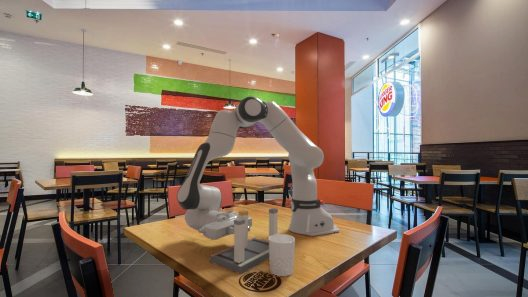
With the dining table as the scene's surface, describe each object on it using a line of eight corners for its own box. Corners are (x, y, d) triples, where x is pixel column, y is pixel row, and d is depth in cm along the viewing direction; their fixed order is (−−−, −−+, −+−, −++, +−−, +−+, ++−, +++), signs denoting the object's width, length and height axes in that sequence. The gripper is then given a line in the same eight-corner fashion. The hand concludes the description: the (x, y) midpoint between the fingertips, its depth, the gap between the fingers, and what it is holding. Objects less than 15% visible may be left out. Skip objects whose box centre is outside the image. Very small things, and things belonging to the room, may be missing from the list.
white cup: (279, 280, 73) (279, 244, 73) (263, 270, 79) (263, 237, 79) (300, 273, 77) (300, 239, 77) (283, 263, 84) (283, 232, 84)
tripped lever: (238, 247, 90) (238, 211, 90) (243, 245, 92) (243, 210, 92) (243, 249, 89) (243, 212, 89) (248, 247, 91) (248, 210, 91)
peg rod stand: (210, 261, 85) (210, 215, 85) (253, 242, 102) (253, 204, 102) (240, 273, 77) (241, 222, 77) (281, 250, 94) (282, 209, 94)
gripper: (195, 221, 90) (223, 228, 82) (235, 210, 107) (262, 215, 98) (195, 239, 90) (223, 248, 82) (235, 225, 107) (262, 232, 98)
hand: (245, 230), depth 90 cm, fingers closed on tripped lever, 2 cm apart
